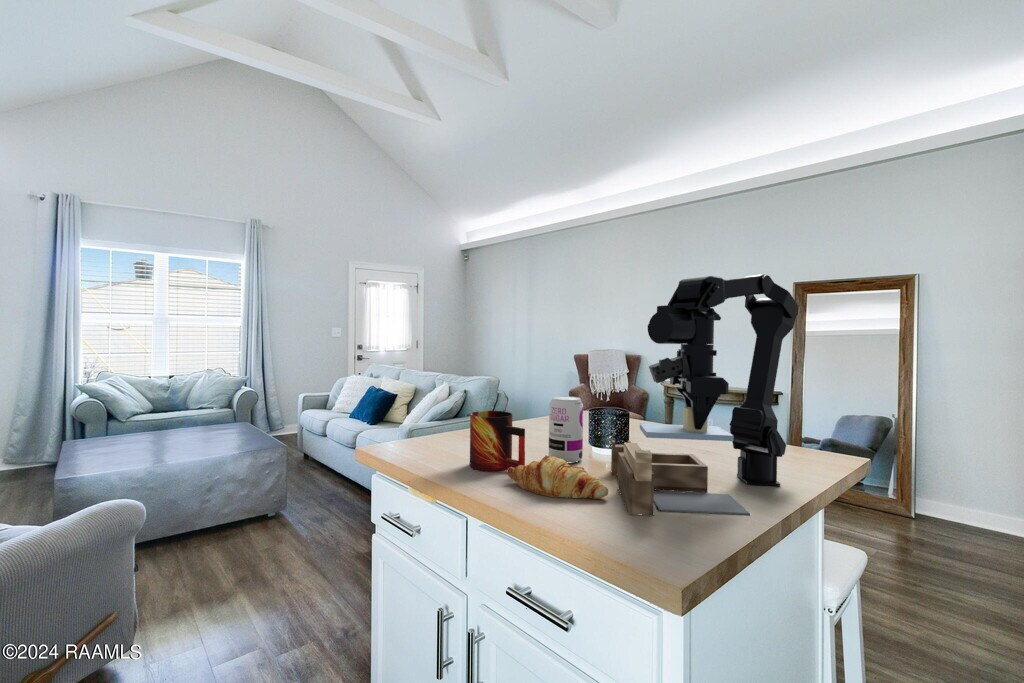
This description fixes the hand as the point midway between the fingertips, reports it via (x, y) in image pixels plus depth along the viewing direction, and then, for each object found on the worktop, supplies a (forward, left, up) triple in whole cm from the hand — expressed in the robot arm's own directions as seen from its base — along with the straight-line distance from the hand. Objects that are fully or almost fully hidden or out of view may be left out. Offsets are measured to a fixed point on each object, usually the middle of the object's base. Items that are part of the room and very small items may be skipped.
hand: (695, 427), depth 90 cm
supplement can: (+24, -24, -13) cm, 36 cm away
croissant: (+26, 0, -14) cm, 29 cm away
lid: (+2, 0, -1) cm, 3 cm away
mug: (+39, -16, -13) cm, 44 cm away
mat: (+1, +3, -13) cm, 14 cm away
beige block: (+12, +5, -7) cm, 14 cm away
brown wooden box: (+5, -2, -13) cm, 14 cm away
